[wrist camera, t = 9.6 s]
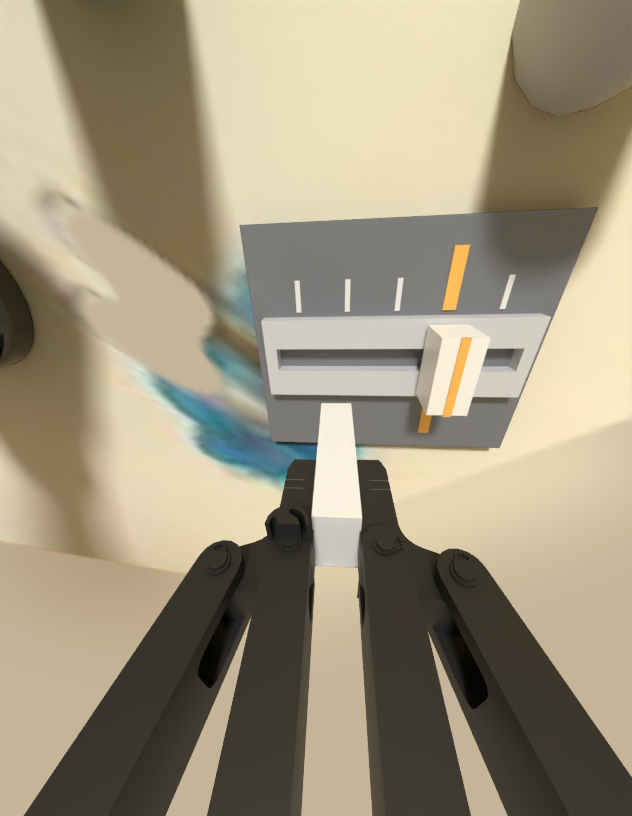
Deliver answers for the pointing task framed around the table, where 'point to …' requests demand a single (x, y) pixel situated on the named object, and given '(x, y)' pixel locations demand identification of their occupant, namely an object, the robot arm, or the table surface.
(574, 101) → the cup
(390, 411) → the console
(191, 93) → the table surface
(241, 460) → the table surface
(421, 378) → the fader
